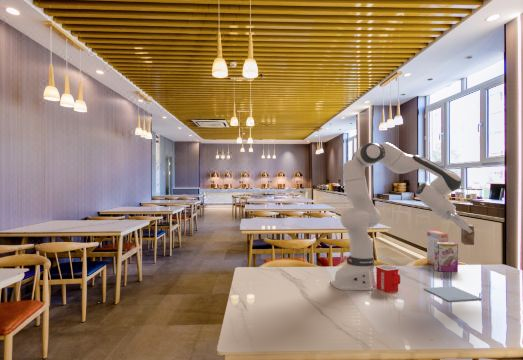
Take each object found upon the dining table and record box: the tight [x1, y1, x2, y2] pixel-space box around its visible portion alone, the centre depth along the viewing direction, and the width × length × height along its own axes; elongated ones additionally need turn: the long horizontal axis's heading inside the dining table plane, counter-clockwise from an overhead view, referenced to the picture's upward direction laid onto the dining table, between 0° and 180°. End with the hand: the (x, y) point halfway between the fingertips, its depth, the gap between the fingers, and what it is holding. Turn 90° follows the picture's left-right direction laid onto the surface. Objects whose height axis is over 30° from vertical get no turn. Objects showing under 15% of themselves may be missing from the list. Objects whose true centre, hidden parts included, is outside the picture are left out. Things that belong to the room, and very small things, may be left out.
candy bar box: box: [433, 242, 459, 273], centre depth 181 cm, size 11×5×16 cm, turn 84°
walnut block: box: [460, 223, 475, 246], centre depth 150 cm, size 4×5×9 cm
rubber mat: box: [423, 285, 482, 303], centre depth 143 cm, size 16×16×1 cm
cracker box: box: [426, 229, 449, 266], centre depth 193 cm, size 14×6×21 cm, turn 179°
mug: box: [375, 264, 401, 294], centre depth 148 cm, size 12×8×11 cm
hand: (468, 230), depth 149 cm, fingers closed on walnut block, 5 cm apart
